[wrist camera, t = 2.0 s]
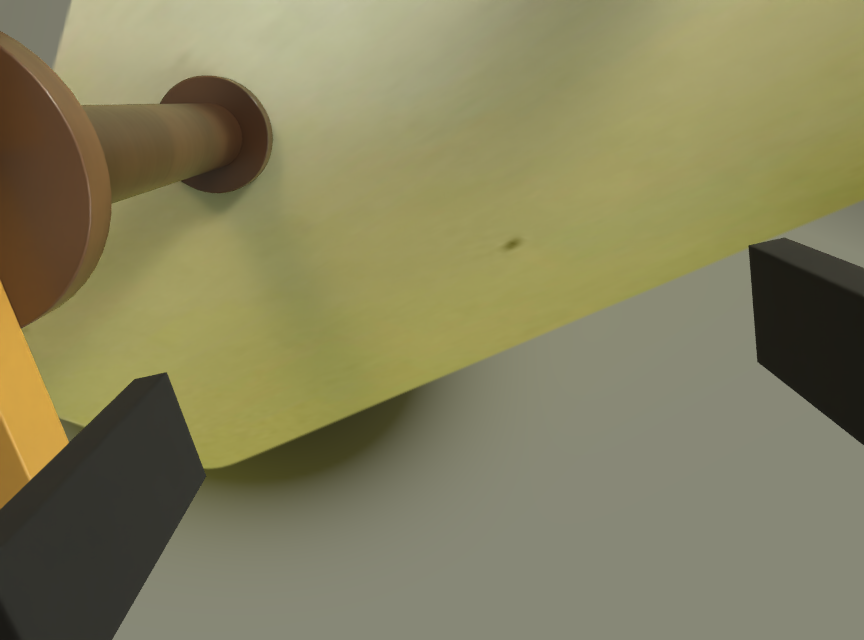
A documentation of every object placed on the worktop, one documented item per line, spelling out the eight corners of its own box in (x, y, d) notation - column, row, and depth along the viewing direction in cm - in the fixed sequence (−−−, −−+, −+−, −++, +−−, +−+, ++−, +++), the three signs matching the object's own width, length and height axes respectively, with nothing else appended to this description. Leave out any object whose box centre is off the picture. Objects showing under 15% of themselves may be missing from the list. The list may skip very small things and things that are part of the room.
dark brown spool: (134, 176, 49) (-265, 281, 21) (165, 39, 46) (-248, -57, 18) (265, 223, 50) (57, 383, 22) (303, 92, 48) (122, 80, 19)
